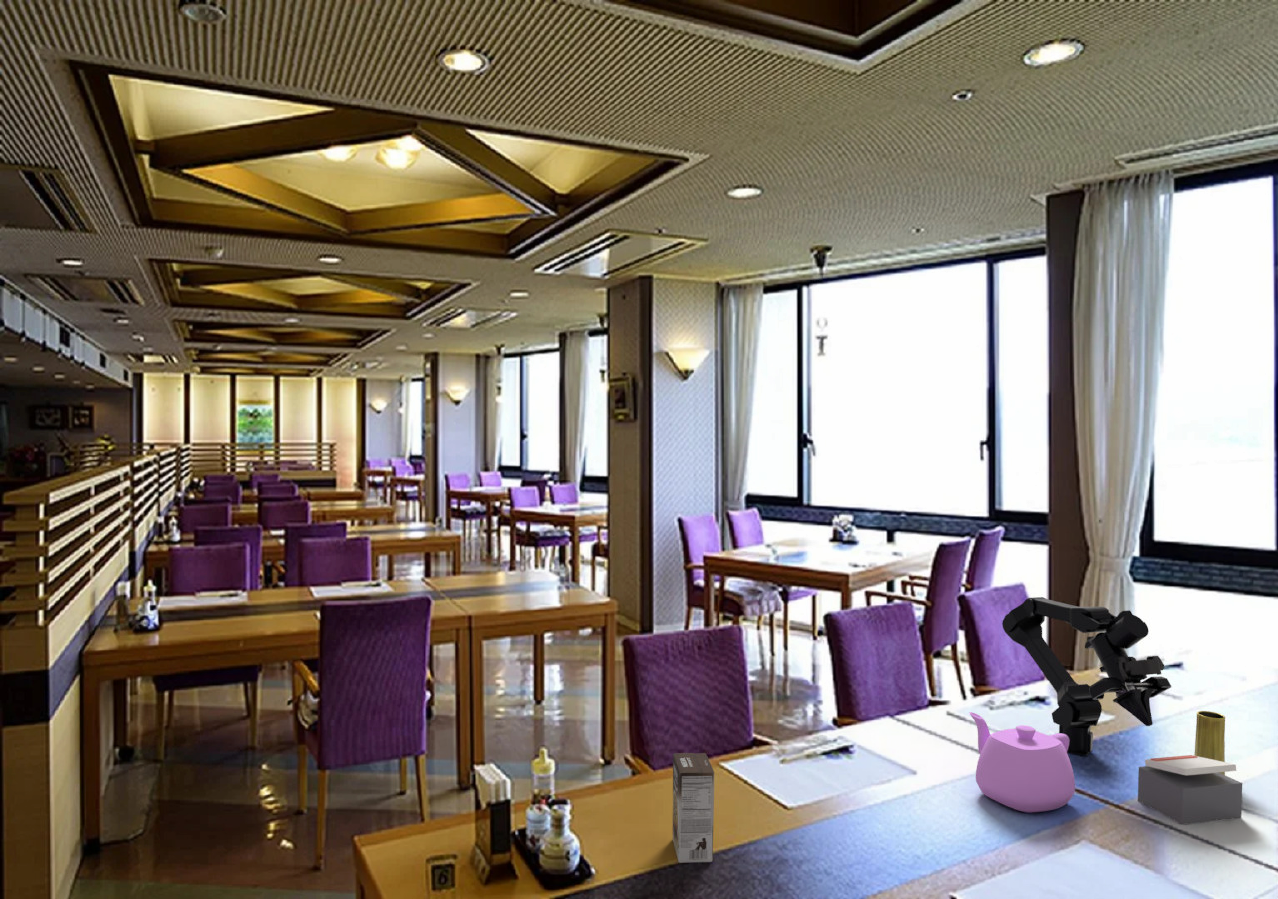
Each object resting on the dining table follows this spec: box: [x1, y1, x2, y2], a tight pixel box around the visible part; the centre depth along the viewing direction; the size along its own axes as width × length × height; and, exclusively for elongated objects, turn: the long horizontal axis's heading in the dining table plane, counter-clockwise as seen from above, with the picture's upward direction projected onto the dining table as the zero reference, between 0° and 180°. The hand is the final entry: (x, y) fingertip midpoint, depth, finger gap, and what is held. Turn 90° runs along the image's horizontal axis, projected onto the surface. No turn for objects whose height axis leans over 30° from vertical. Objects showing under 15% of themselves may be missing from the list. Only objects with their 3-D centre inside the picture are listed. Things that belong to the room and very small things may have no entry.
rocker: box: [1144, 754, 1237, 775], centre depth 175 cm, size 10×12×1 cm
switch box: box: [1137, 765, 1243, 825], centre depth 175 cm, size 11×14×7 cm
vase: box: [1194, 710, 1226, 776], centre depth 191 cm, size 6×6×14 cm
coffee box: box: [672, 752, 715, 864], centre depth 156 cm, size 9×6×16 cm
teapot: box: [968, 712, 1076, 814], centre depth 182 cm, size 23×21×15 cm
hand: (1149, 725), depth 186 cm, fingers closed
